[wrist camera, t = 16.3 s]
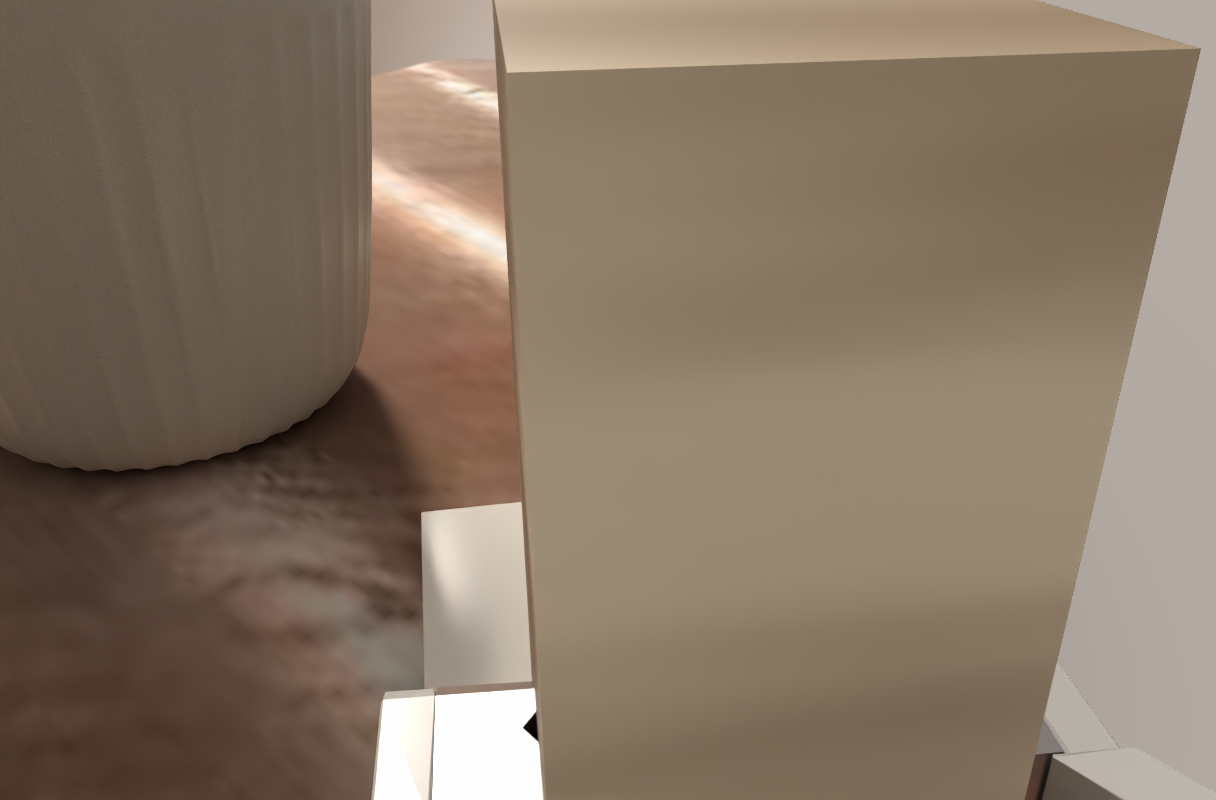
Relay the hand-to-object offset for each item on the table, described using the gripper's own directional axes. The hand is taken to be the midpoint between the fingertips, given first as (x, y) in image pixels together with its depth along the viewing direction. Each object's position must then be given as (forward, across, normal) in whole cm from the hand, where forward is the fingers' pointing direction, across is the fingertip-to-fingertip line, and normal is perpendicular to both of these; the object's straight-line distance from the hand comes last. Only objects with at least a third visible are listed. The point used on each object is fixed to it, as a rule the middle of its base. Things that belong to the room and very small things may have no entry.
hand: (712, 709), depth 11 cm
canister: (+28, -13, -10) cm, 32 cm away
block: (-1, 0, -9) cm, 9 cm away
